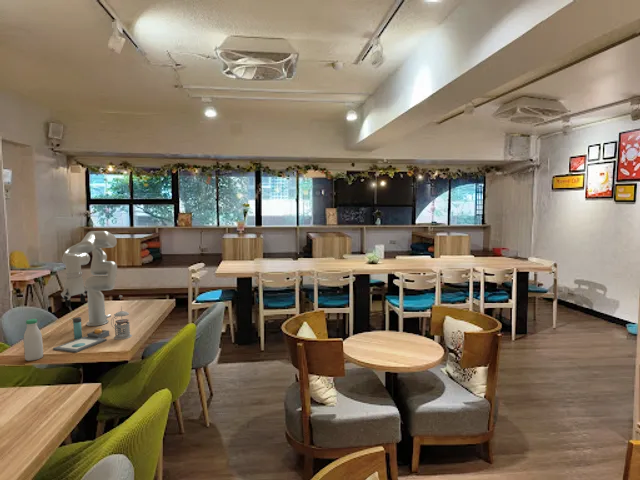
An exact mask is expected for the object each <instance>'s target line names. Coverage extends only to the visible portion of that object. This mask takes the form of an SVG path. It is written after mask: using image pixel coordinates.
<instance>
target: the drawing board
mask: <svg viewBox="0 0 640 480" xmlns="http://www.w3.org/2000/svg"><path fill="white" fill-rule="evenodd" d="M106 341H107V338H93V337H87V336H82V338H80V339H74V340H71V341H69V342H65V343H63V344H61V345H57V346H56V347H55V346H54V347H53V348H52V350H53V351H60V352H68V353H79V352H81V351H83V350H86V349H89V348H92V347H94V346H97V345H99V344H102V343H104V342H106Z"/></svg>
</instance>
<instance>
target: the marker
mask: <svg viewBox="0 0 640 480" xmlns="http://www.w3.org/2000/svg"><path fill="white" fill-rule="evenodd" d="M72 323H73V326H72V327H73V339H74V340H77V339H80V338H82V337H83V330H82V317H80V316H78V317H74V318H72Z"/></svg>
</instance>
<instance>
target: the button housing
mask: <svg viewBox="0 0 640 480" xmlns="http://www.w3.org/2000/svg"><path fill="white" fill-rule="evenodd" d="M109 336H110V330H109V329H108V330H106V329H102V332H101V333H99V334H96V333H94V331H91V332H87V334H86V337H93V338H102V339H105V338H107V337H109Z"/></svg>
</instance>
